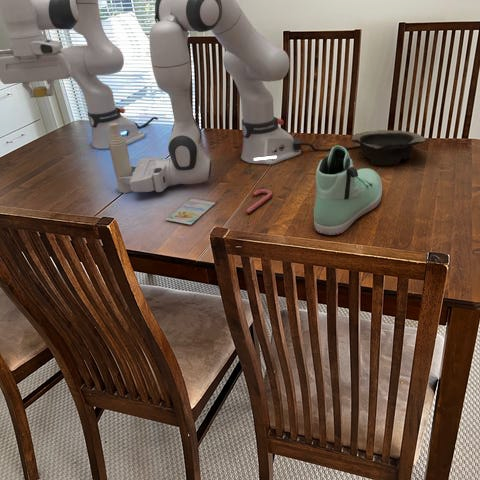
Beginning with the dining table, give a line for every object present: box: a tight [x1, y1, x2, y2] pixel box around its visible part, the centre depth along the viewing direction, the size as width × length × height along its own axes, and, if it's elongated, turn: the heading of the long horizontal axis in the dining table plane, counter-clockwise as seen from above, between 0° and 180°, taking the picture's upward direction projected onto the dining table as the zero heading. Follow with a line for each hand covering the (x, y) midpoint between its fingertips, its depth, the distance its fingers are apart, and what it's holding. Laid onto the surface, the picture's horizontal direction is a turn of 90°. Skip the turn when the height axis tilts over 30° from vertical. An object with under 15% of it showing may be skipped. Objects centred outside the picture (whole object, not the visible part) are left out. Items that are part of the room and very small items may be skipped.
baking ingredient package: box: [164, 198, 216, 226], centre depth 144 cm, size 9×1×15 cm
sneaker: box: [313, 145, 383, 236], centre depth 133 cm, size 14×35×20 cm, turn 152°
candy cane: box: [245, 188, 273, 215], centre depth 146 cm, size 6×15×2 cm, turn 145°
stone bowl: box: [351, 129, 427, 166], centre depth 167 cm, size 25×25×9 cm
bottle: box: [109, 123, 134, 194], centre depth 156 cm, size 6×6×22 cm
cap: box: [32, 85, 48, 98], centre depth 143 cm, size 4×4×2 cm
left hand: (42, 96), depth 143 cm, fingers closed on cap, 3 cm apart
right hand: (121, 175), depth 159 cm, fingers closed on bottle, 5 cm apart
